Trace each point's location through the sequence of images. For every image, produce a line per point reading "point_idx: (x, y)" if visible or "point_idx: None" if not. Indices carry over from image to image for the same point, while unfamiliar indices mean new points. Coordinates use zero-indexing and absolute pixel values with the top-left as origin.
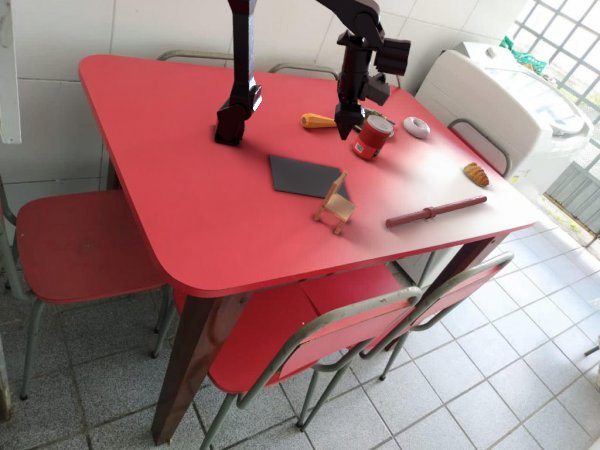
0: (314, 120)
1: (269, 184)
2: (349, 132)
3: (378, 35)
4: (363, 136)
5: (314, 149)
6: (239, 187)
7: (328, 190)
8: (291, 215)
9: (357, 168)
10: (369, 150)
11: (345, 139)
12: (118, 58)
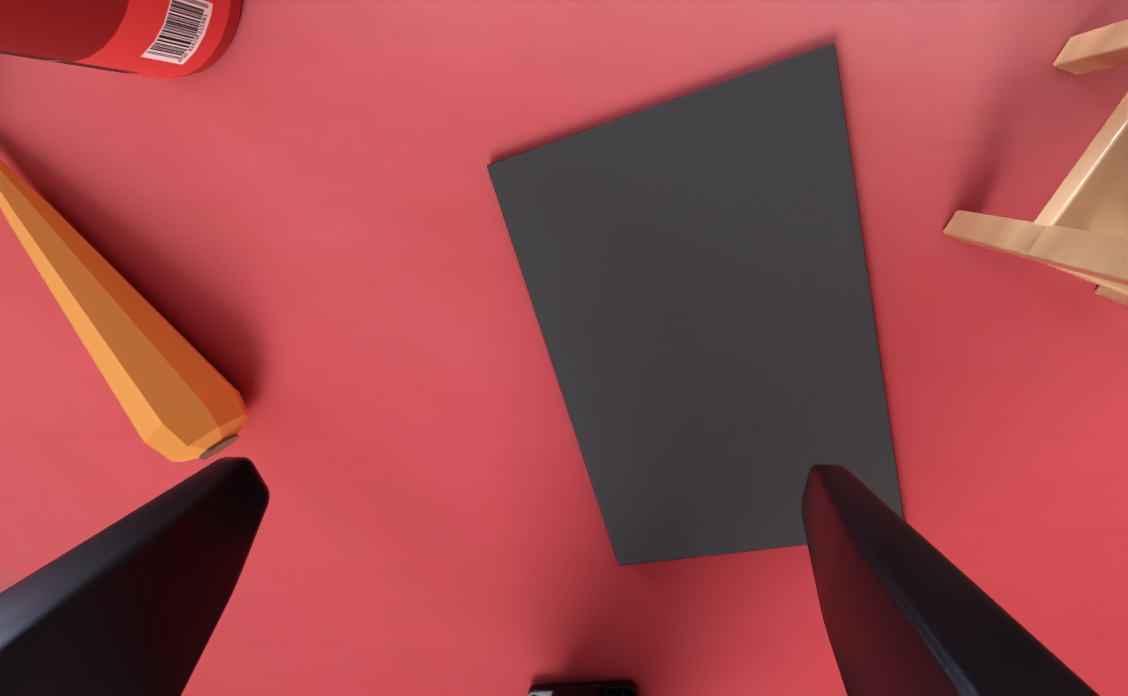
0: (180, 399)
1: None
2: (1068, 676)
3: None
4: (70, 17)
5: (394, 337)
6: None
7: (773, 225)
8: (1112, 436)
9: (378, 9)
10: None
11: (858, 488)
12: None
